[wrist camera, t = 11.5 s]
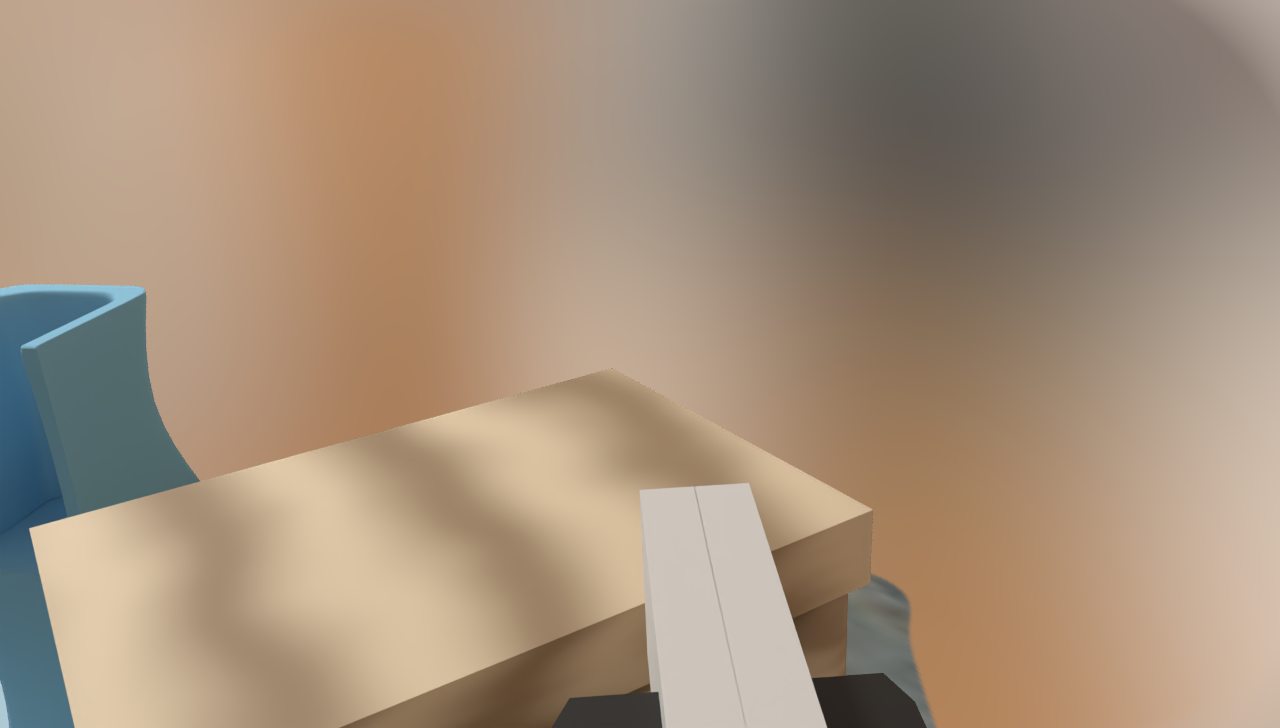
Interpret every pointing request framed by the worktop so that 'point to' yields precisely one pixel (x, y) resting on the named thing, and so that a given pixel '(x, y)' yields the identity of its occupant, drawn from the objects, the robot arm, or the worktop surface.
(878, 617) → the worktop surface
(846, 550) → the stool
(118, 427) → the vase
